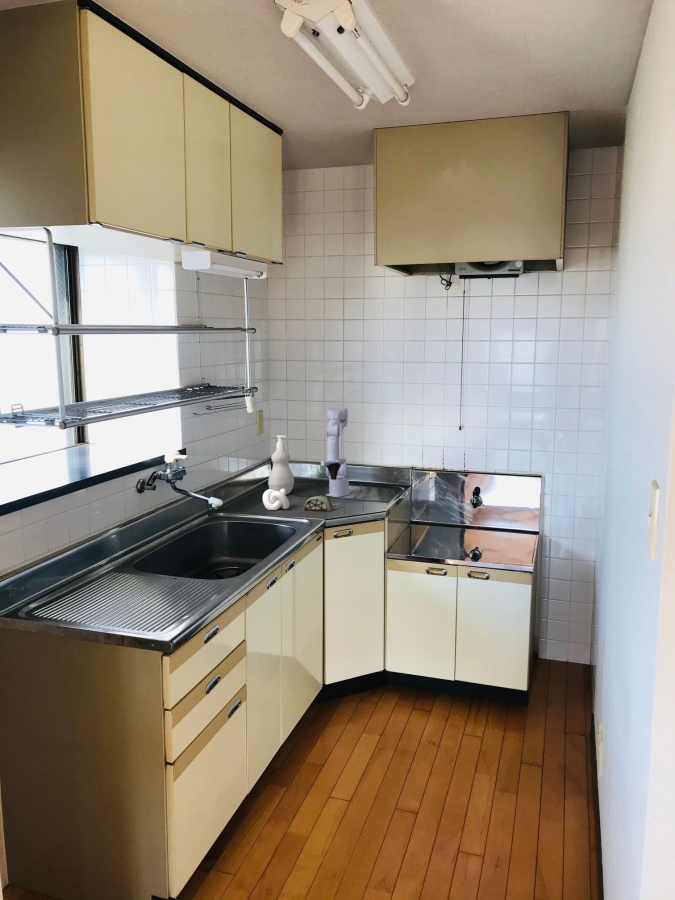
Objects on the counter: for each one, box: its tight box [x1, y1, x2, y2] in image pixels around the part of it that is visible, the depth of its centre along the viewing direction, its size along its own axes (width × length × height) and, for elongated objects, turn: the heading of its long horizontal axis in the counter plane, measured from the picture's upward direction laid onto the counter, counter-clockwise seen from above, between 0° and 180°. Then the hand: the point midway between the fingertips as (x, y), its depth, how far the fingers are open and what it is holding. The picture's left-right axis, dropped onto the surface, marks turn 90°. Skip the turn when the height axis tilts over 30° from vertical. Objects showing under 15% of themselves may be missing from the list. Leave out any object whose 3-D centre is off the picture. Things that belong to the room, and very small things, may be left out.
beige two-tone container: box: [303, 494, 334, 512], centre depth 320 cm, size 12×6×10 cm
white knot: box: [262, 489, 290, 511], centre depth 322 cm, size 11×12×9 cm
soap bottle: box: [267, 434, 295, 495], centre depth 356 cm, size 17×12×29 cm
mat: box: [302, 504, 341, 511], centre depth 325 cm, size 9×16×1 cm, turn 46°
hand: (333, 479), depth 336 cm, fingers closed
